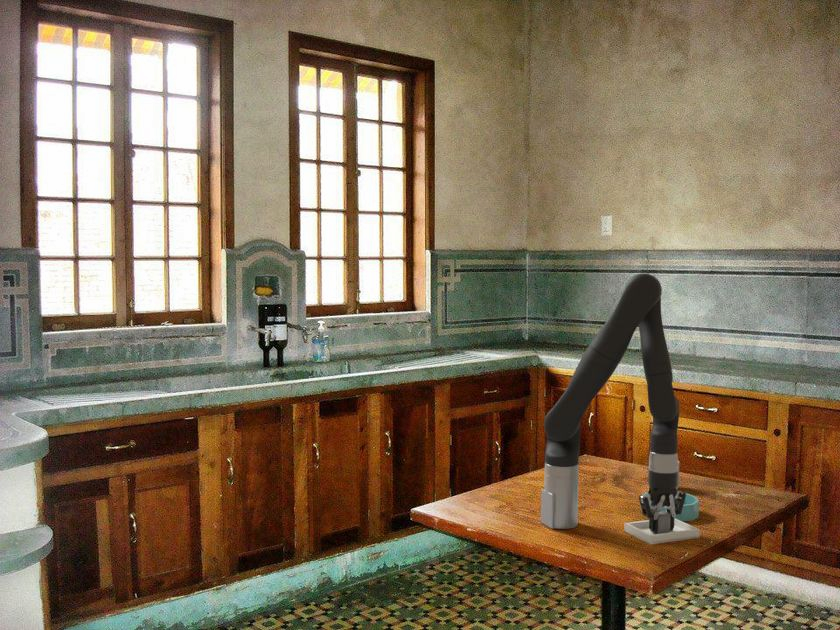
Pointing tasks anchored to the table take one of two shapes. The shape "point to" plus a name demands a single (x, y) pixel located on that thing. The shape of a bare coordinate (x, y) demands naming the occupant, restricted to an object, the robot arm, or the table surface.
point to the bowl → (686, 508)
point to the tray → (678, 533)
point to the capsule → (663, 522)
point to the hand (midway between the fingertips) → (661, 531)
